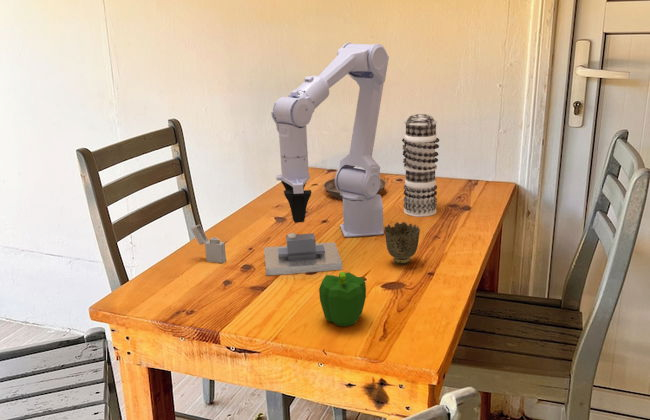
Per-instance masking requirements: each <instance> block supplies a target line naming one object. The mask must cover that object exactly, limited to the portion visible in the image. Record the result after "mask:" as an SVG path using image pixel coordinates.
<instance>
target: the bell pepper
mask: <svg viewBox="0 0 650 420" xmlns="http://www.w3.org/2000/svg"><path fill="white" fill-rule="evenodd" d="M366 284H367V283H366V280H365V279H364V277H362V276H361V277H359V276H357V275H355V274H353V273H351V272H349V271H347V272H345V271H340V272H339V273H338V275H334V274H333V275H330V274H325V276H324V278H323V279H322V281H321V282H320V284H319V288H318V292H319V301H320V305H321V309H322V312H323V315H324V317H325V318H326V320H327V321H328V322H330V323H334V325H337V326H339V327H349V326H354V325H355V324H356V323H357V322H358V321H359V320H360V318H361V316H362V313H363V310H364V306H365V303H366V298H367V286H366Z"/></svg>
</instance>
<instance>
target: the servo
mask: <svg viewBox="0 0 650 420" xmlns="http://www.w3.org/2000/svg"><path fill="white" fill-rule="evenodd" d="M285 237H286V246H287V248H278V256H279V257H287V258H288V261H298V260H311V259H316V254H325V249H324V246H323V245H317V246H316V244H315V243H316V237H315V233H312V232H311V233H300V234H296V233H295V232H290V233H288V234H287V235H286V236H285Z"/></svg>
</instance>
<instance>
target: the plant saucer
mask: <svg viewBox="0 0 650 420" xmlns="http://www.w3.org/2000/svg"><path fill="white" fill-rule="evenodd" d="M386 183H387V182H386V181H385V180H384V179H382V178H380V188H379V190H378V192H377V194H379V195H380V193H382V192H383V190H384V188H385V186H386V185H387V184H386ZM323 188H324V189H325V191H326V192H327V193H328V194H329V195H330V196H331V197H333V198H334V199H339V200H343V196H341V195H340V191H339V190H337V188H336V186H335V178H332V179H329V180H327V181H325V182H324V183H323Z"/></svg>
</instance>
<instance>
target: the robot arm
mask: <svg viewBox="0 0 650 420" xmlns="http://www.w3.org/2000/svg"><path fill="white" fill-rule="evenodd" d="M389 58H390V56H389V55H388V53H387V50H386V49H385V47H384V45H382V44H380V43H375V44H371V43H369V44H367V43H366V44H365V43H352V42H346V43H344V44H343V45H341V47H340V48H338V49H337V52H336V56H335V57H334V58H333V60H332V61H331V62H330V63H329V64H328V65H327V66H326V67H325V68H324V69H323V70H322V71H321V73H319V75H307V76H306V77H305V78H304V79H303V80H304V81H303V82H302V83H301V84H300V85H299V86H298V87H296V88H295V89H293V90H291V92H290V94H289V95H288V96H281V97H280V98H278V99H277V100H275V102H274V104H273V106H272V111H271V112H270V113H271V114H270V115H271V118H272V120H273V121H274V123H275V125H276V131H277V133H278V137H279V155H280V169H281V172H280V173H281V174H277V175H276V176H275V178H276V181H281V184H282V185H283V188H284V189H285V190H283V194H284V197H285V198H286V200H287V202H288V204H289V208H290V211H291V216H292V220H293V222H294V223H295V224H298V223H305V218H306V213H307V207H308V203H309V200H310V198H311V196H312V190H311V189H307V190H306V189H305V187H306V184H307V182H308V181H309V180H310V178H311V176H310V172H309V156H308V155H309V153H308V135H307V133H308V130H307V125H308V124H309V123H310V122H311V120H312V117H313V114H314V112H315V110H316V109H317V108H318V107H319V106H320V105H321V104H322V103H323V102H324V101H325V100H327V98H329V95H330V88H332V87H333V86H335V84H336V83H338V82H339V81H340V80H342V79H343V78H344V77H345V76H347V75H348V76H349V77H350V78H351V79H352V80H354V81H355V82H356V83H357V85H358V87H359V90H358V97H357V101H356V102H357V103H356V110H355V116H354V123H353V127H352V135H351V140H350V141H351V143H350V148H349V154H347V155H345V157H343V158H342V159H341V160H339V165H338V169H337V170H336V173H335V175H334V179H335V186H336V188H337V190H339V191H340V195H341V196H343V199H342V216H343V217H342V219H343V221H342V223H341V224H339V228H340V230H341V232H342V235H343V237H344V238H352V237H353V238H354V237H367V236H378V235H379V236H381V235H385V231H384V205H383V204H384V203H383V199H382V198H383V197H382V195H381V194H380V193H379V194H377V192H378V190H379V188H380V179H381V175H380V173H381V172H380V171H381V166H380V165H379V164H378V162H377V161H376V160H375V159H374V158H373V151H374V147H375V140H376V135H377V128H378V122H379V121H378V120H379V115H380V110H381V102H382V98H383V97H382V96H383V90H384V85H385V82H386V77H387V72H388V71H387V70H388V65H389V60H390V59H389ZM355 167H357V168H355Z"/></svg>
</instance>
